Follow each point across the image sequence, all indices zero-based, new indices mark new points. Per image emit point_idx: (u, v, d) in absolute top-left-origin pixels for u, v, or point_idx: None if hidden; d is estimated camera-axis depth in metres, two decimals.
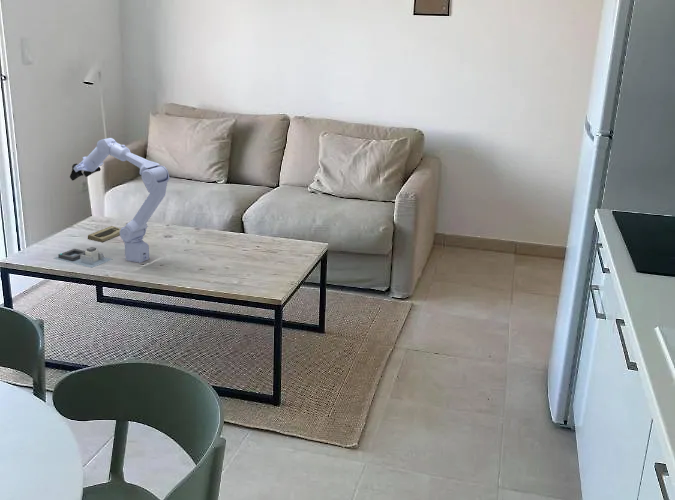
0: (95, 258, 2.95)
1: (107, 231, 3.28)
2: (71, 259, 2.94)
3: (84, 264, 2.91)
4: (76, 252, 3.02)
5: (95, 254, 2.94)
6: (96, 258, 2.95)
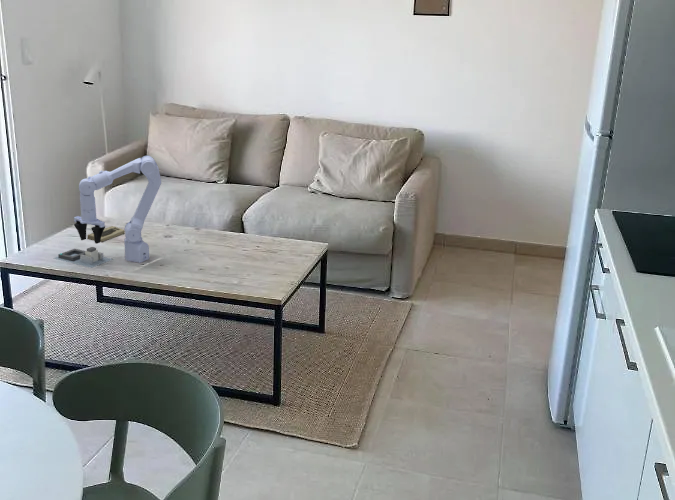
0: (95, 258, 2.95)
1: (107, 231, 3.28)
2: (71, 259, 2.94)
3: (84, 264, 2.91)
4: (76, 252, 3.02)
5: (95, 254, 2.94)
6: (96, 258, 2.95)
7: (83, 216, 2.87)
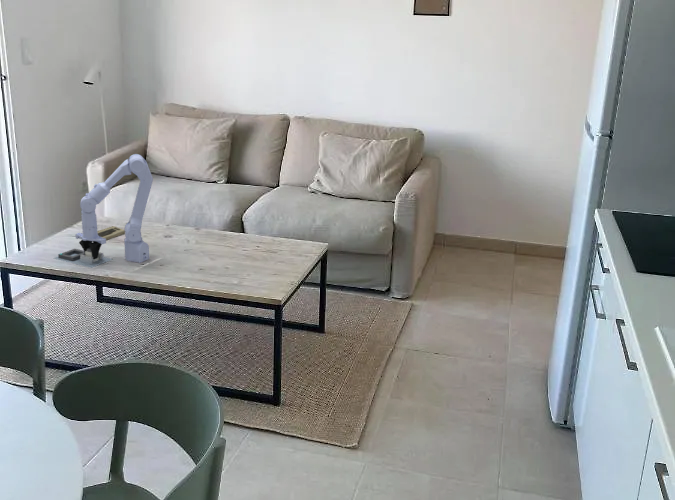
0: None
1: (107, 231, 3.28)
2: (71, 259, 2.94)
3: (84, 264, 2.91)
4: (76, 252, 3.02)
5: None
6: None
7: (84, 233, 2.89)
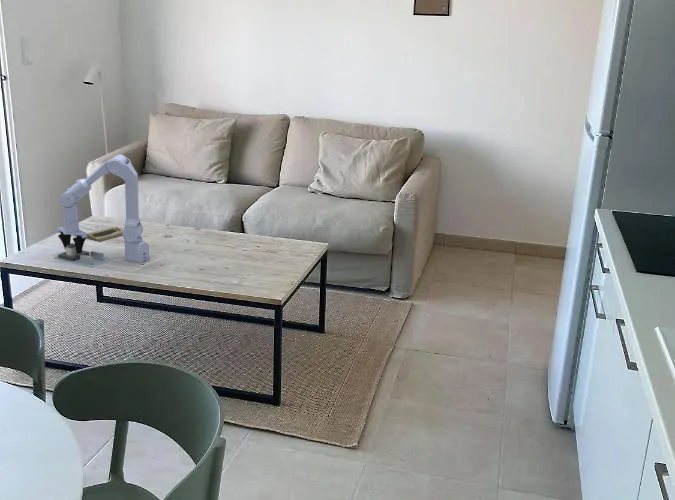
0: None
1: (107, 231, 3.28)
2: (71, 259, 2.94)
3: (84, 264, 2.91)
4: None
5: (75, 250, 2.98)
6: (76, 254, 2.98)
7: (66, 227, 2.93)
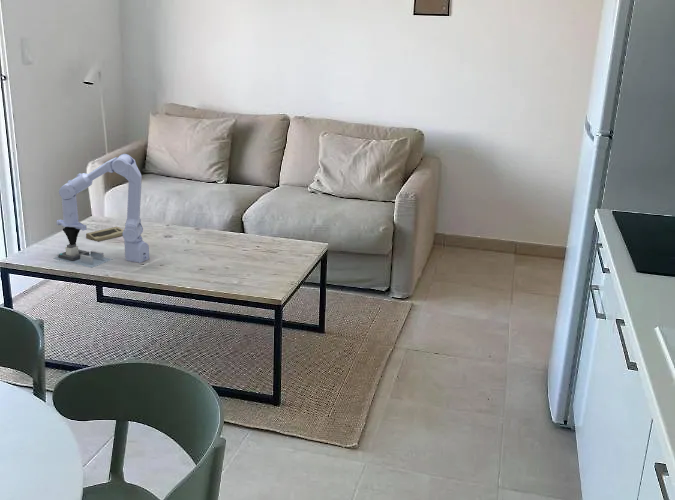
0: None
1: (107, 231, 3.28)
2: (71, 259, 2.94)
3: (84, 264, 2.91)
4: None
5: (75, 250, 2.98)
6: (76, 254, 2.98)
7: (65, 219, 2.92)
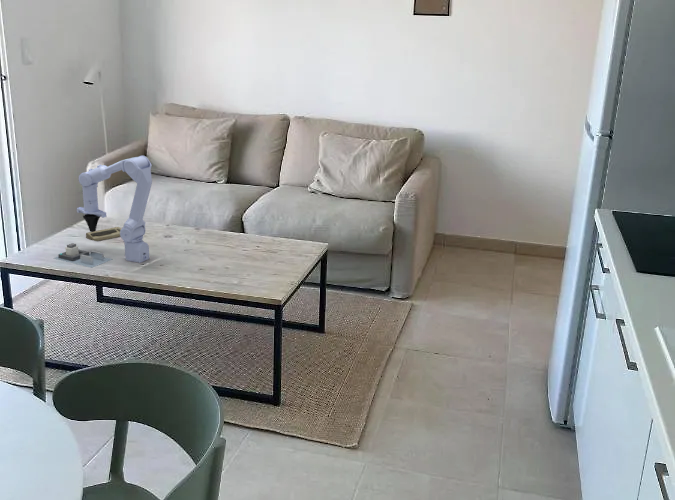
0: None
1: (107, 231, 3.28)
2: (71, 259, 2.94)
3: (84, 264, 2.91)
4: None
5: (75, 250, 2.98)
6: (76, 254, 2.98)
7: (86, 207, 2.98)
